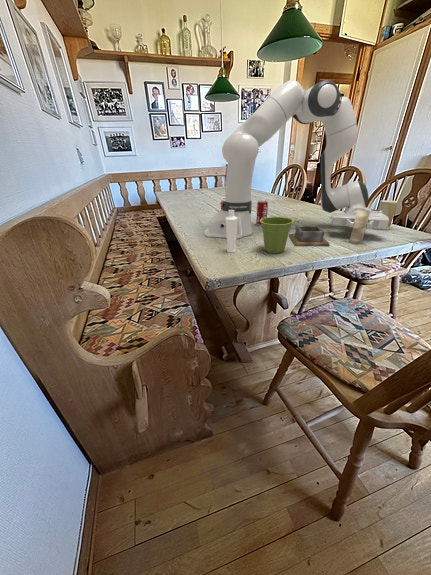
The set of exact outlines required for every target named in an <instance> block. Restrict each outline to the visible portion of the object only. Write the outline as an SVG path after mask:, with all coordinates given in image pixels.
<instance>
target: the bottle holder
mask: <svg viewBox="0 0 431 575" xmlns="http://www.w3.org/2000/svg"><path fill="white" fill-rule="evenodd" d="M288 238H289V239H290V241H291V242H292V244H293V246H294V247H330V242H329V241H328V240H327V239H326V238H325V231H324V230H323V229H322V227H320V226H319V225H296V226H295V231H294V233H289V234H288Z"/></svg>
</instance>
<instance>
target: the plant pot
mask: <svg viewBox="0 0 431 575" xmlns="http://www.w3.org/2000/svg"><path fill="white" fill-rule="evenodd" d="M260 222H261V224H262V226H261V229H262V235H263V236H262V237H263V244H264V245H263V246H264V251H265V252H268V253H271V254H280V253H281V252H282V253H283V252H284V251H285V249H286V246H287V242H288V238H289V234H290V230H291V228H292V225H293V224H294V222H295V220H294V219H293V218H290V217H285V216H267V218H263V219H261V220H260Z"/></svg>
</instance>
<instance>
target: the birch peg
mask: <svg viewBox="0 0 431 575" xmlns="http://www.w3.org/2000/svg"><path fill="white" fill-rule="evenodd" d="M369 214H370V212H369V211H363V210H359V211H357V212H356V216H355V221H354V226H353V228H351V234H350V238H349V243H350V244H353V245H361V244H363V241H364V236H365V234H366V229H367V228H366V226H367V222H368V218H369Z"/></svg>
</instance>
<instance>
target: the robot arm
mask: <svg viewBox="0 0 431 575" xmlns="http://www.w3.org/2000/svg"><path fill="white" fill-rule="evenodd" d="M292 118H293V119H295V121H296V122H297V123H299V124H301V125H309V124H311V123H314V122H317V121H320V122H321V123H322V125H323V127H324V130H325V131H324V132H325V137H326V138H325V139H326V145H325V149H324V150H323V151H322V153H321V156H320V185H321V186H320V188H321V190H320V191H321V194H320V206H321V208H322V211H324V212H326V213H329V214H331V213H333V214H332V215H330V219H331V221H330V225H331V226H341V227H342V226H343V227H344V226H345V227H348V228H351V229H353V226H354V221H355V216H356V212H357V211H359V210H363V211H369V212H370V214H369V218H368V222H367V226H366V229H374V228H387V226H388V223H389V218H388V217H387V216H386V215H385V214H382V213H383V212H382V211H379V210H378V209H372V208H369V207H366V206H367V205H368V202H369V198H370V197H369V191H368V188H367V186H366V184H365V183H364V182H362V181H361V180H355V181H351V182H349V183H346V184H343V185H341V186H337V187H334V188H332V185H331V184H332V182H331V179H332V178H331V172H332V171H331V170H332V168H333V166H334V165H335V164H336V162H338V161H339V160H340V159H341V158H342V157H343V156H345V155H346V154H347V153H349V152H350V151H351V150H352V149H353V147H354V146H355V144H356V143H357V140H358V126H357V125H358V124H357V120H356V118H357V117H356V114H355V110H354V107H353V105H352V101H351V100H350V98H349V97H347V96H343V94H342V93H341V92H340V89H339V87H338V85H337V84H336V83H335V82H334V81H332V80H329V79H325V80H324V79H323V80H321V81H318V82H317V83H315V84H314V85H312V86H311V87H310V88H308V89H306V88H305V89H304V88H303V86H302V84H300V82H299V81H297V80H295V79H290V80H287V81H286V82H284V83H283V84H281V85H280V86H279V87H278V88H276V90H274V91H273V92H272V93H271V94H270V95H269V96H267V98H266V100H264V101H263V103H261V105H260V106H259V107H258V108H257V109H255V111H254V112H253V113H252V114H251V115H250V116H249V117H248V118H247V119H246V120H245V121H244V122H243V123H242V124H241V125H239V126H238V127H237V128H236V129H235V130H234V131H233V132H232V133H231V134H230V135H229V136H228V137H227V138H226V139H225V141H224V142H223V144H222V149H221V150H222V157H223V159H224V160H225V161H226V162H227V169H226V177H225V181H224V182H225V183H224V190H225V192H224V194H225V195H224V196H225V198H224V199H225V200H221V201H220V210H219V211H218V212H217V213H216V214H214V215H213V216H212V217H211V218H210V220H209V222H208V224H209V225H208V227H207V228H205V230H204V232H203V234H204V236H205V237H207V238H225V239H227V234H226V221H225V218H226V217H228V216H229V210H235V211H234V216H235V217H237V218H238V224H237V236H236V240H238V239H241V238H243V237H248V236H251V235H252V234H254V230H253V226H252V211H253V207H252V206H253V203H252V200H251V199H252V198H251V197H252V181H253V175H254V170H255V165H256V160H257V157H258V155H259V151H260V150H259V148H260V147H261V146H262V145H263V144H265V143H266V142H268V141H269V140H271V139H272V138H273V136H274V135H275V134H276V133H278V131H279V130H280V129H282V127H283V126H284V125H285V124H286V123H287V122H288V121H289V120H290V119H292ZM342 209H345V210H344V212H343V213H342V212H337V213H334V212H336V211H339V210H342Z"/></svg>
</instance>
